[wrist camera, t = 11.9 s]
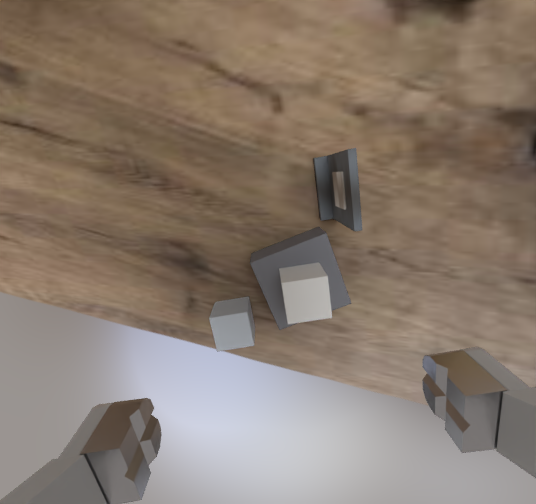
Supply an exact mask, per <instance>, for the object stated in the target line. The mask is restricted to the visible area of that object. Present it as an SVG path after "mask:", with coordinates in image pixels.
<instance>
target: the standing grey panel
mask: <svg viewBox="0 0 536 504" xmlns="http://www.w3.org/2000/svg"><path fill="white" fill-rule="evenodd" d="M313 160H314V169H315V177H316V186H317V195H318V204H319V213H320V220H321V221H322V220H328V219H335V220H337V221H338V222H340V223H342V224H343V225H345V226H346V227H348V228H350V229H351V230H353V231H360V230H362V220H361V206H360V193H359V180H358V167H357V153H356V148H354V149H348V150H345V151H341V152H338V153H335V154H332V155H329V156H324V157H318V158H313Z"/></svg>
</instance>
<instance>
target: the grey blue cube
mask: <svg viewBox="0 0 536 504" xmlns="http://www.w3.org/2000/svg"><path fill="white" fill-rule="evenodd" d="M209 320H210V324H211V328H212V332H213V336H214V340H215V344H216V348H217V351H224V350H230V349H237V348H243V347H249V346H254V339H255V324H254V319H253V314H252V309H251V304H250V299H249V296H248V297H242V298H236V299H230V300H224V301H218V302H215V304H214V306H213V309H212V312H211V314H210V317H209Z"/></svg>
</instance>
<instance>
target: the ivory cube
mask: <svg viewBox="0 0 536 504" xmlns="http://www.w3.org/2000/svg"><path fill="white" fill-rule="evenodd" d="M279 272H280V278H281V285H282V291H283V298H284V304H285V310H286V316H287V322H288V324H294V323H301V322H307V321H314V320H321V319H327V318H332V311H331V301H330V292H329V283H328V276H327V274H326V273H325V271H324V270H323V268H322V266H321V265H320V263H319V262H318V263H312V264H305V265H299V266H292V267H286V268H279Z"/></svg>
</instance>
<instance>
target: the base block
mask: <svg viewBox="0 0 536 504" xmlns="http://www.w3.org/2000/svg"><path fill="white" fill-rule="evenodd" d="M318 262H319V263H320V265H321V266H322V268H323V270H324V271H325V273H326V274H327V276H328V283H329V292H330V301H331V311H332V310H335V309H338V308H340V307H343V306H346V305H349V304H351V301H350V298H349V295H348V292H347V290H346V287H345V284H344V281H343V278H342V276H341V273H340V270H339V267H338V264H337V262H336V259H335V256H334V253H333V250H332V247H331V245H330V242H329V239H328V236H327V233H326V232H325V231H323V230H322V229H321V228H320V227H316V228H314V229H311V230H309V231H306V232H304V233H301V234H299V235H296V236H294V237H291V238H289V239H286V240H284V241H281V242H279V243H276V244H273V245H271V246H268V247H266V248H263V249H261V250H258V251H256V252H253V253H251V260H250V264H251V266H252V269H253V271H254V273H255V276H256V278H257V280H258V282H259V285H260V287H261V289H262V291H263V294H264V296H265V298H266V300H267V303H268V305H269V307H270V309H271V312H272V314H273V316H274V319H275V321H276V323H277V325H278V328H279V330H281V329H284V328H286V327H289V326H292V325H294V324H297V323H294V324H288V322H287V316H286V310H285V304H284V298H283V291H282V285H281V278H280V272H279V268H286V267H292V266H299V265H305V264H312V263H318Z"/></svg>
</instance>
